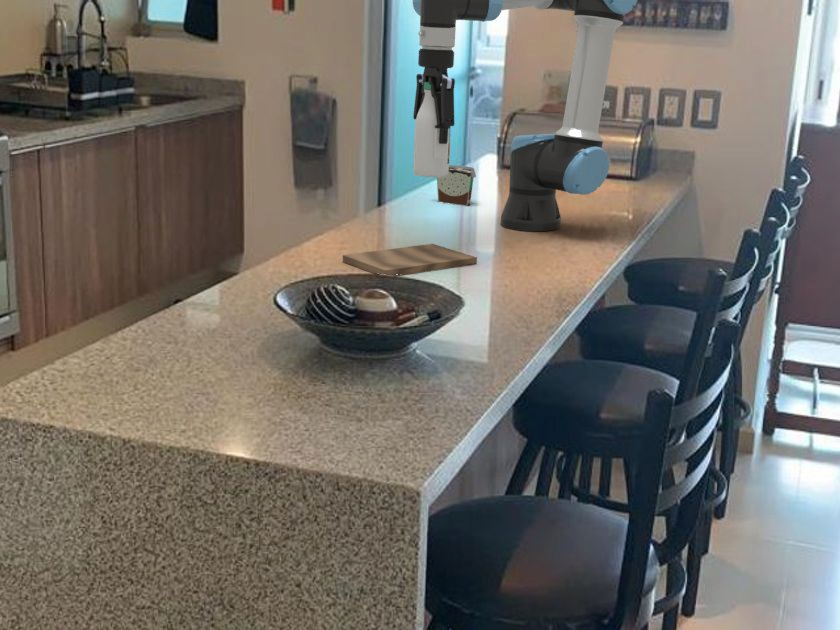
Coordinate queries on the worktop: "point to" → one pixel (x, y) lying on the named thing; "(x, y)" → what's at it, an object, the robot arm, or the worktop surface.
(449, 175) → the food container
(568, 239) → the worktop surface
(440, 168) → the milk bottle
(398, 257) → the board
